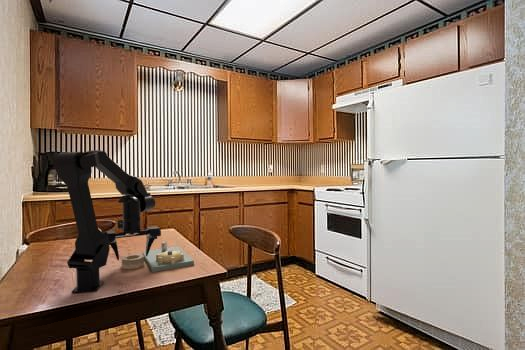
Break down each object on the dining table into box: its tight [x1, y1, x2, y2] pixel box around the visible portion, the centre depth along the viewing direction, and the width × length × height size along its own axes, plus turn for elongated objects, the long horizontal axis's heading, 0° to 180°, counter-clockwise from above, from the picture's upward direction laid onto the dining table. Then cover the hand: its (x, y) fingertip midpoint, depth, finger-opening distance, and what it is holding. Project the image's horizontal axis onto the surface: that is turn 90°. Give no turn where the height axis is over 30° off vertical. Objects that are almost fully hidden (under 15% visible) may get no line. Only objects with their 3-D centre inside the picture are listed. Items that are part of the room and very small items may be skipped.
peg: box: [160, 241, 168, 253], centre depth 113 cm, size 2×2×4 cm
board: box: [142, 246, 195, 273], centre depth 109 cm, size 22×14×4 cm, turn 30°
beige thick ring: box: [121, 253, 145, 270], centre depth 103 cm, size 7×7×3 cm
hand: (132, 258), depth 103 cm, fingers open, 9 cm apart
